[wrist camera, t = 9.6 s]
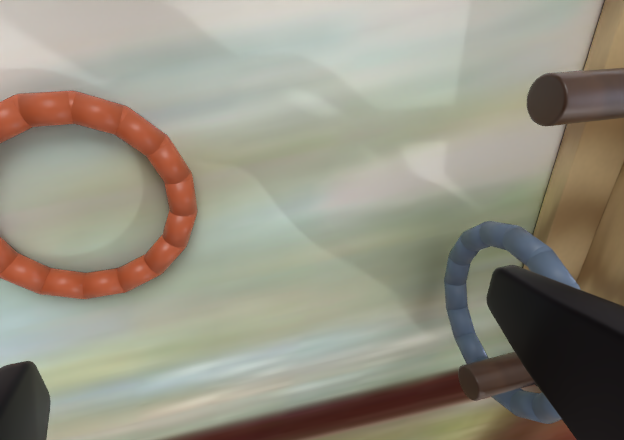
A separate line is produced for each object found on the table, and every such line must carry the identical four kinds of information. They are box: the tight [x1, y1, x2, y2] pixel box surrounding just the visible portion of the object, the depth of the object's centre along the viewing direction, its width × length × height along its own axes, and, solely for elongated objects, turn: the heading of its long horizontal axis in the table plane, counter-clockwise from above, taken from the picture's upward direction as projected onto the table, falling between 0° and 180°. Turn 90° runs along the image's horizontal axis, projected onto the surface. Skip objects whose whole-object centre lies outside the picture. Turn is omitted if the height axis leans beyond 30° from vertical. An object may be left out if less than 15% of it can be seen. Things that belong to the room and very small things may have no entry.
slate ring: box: [444, 221, 581, 424], centre depth 20 cm, size 9×1×9 cm, turn 0°
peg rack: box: [458, 0, 624, 401], centre depth 19 cm, size 22×17×11 cm
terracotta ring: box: [0, 91, 197, 299], centre depth 18 cm, size 9×1×9 cm
